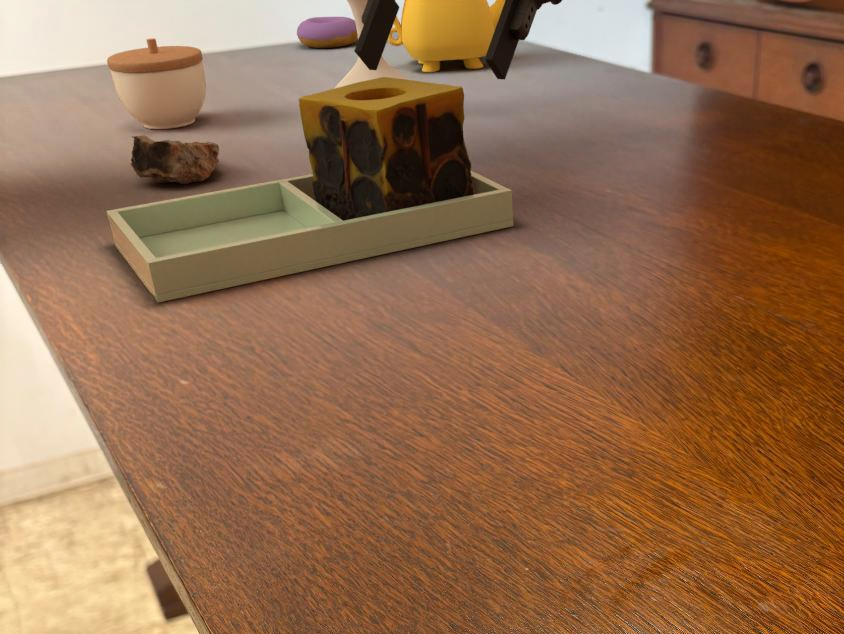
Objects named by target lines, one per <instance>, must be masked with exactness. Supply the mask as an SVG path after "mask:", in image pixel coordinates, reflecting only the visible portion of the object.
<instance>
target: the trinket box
mask: <svg viewBox="0 0 844 634" xmlns="http://www.w3.org/2000/svg"><path fill="white" fill-rule="evenodd" d="M146 44H147V47H143V48H142V47H141V48H135V49H130V50H124V51H121V52H117V53H114V54H112V55H109V56H108V57H107V60H106V63H107V67H108V69H109V70H110V74H111V79H112V83H113V85H114V88H115V92H116V94H117V96H118V98H119V100H120V102H121V104H122V105H123V107H124V109H125V110H126V111H127V112H128V113H129V115H131V116H132V117H133V118H134V119H135V120H136V121H138V122H139V123H141V124H142V126H143V127H144V128H145V129H148V130H149V129H150V130H169V129H176V128H177V129H178V128H182V127H187V126H189V125H191V124H194V123H195V122H196V117H197V116H198V115H199V113H200V112H201V110H202V107H203V106H204V103H205V99H206V90H207V89H206V88H207V85H206V74H205V68H204V62H203V59H204V58H203V54H202V53H203V52H202V50H201V49H200V48H198V47H195V46H194V47H193V46H187V45H164V46H163V45H161V46H158V44H157V39H156V38H154V37H153V38H147V39H146Z"/></svg>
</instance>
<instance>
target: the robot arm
mask: <svg viewBox="0 0 844 634" xmlns="http://www.w3.org/2000/svg"><path fill="white" fill-rule="evenodd" d="M396 1H397V0H368V1H367V4H366V8H365V9H364V12H363V15H362V23H363V24H364V26H363V29H362V31H361V34H360V37H359V39H357V42H356V45H355V48H354V53H355V54H356V56H357V57H358V56H359V58H360V59H361V60H362V61H363V62H364V64H365V65H366V66H367V67H368V69H369V70H377V67H378V64H379V62H380V59H381V56H382V57H383V53H384V50H385V48H386V45H387V42H388V37H389V34H390V32H391V29H392V28H393V26H394V21H395V18H396V16H397V15H398V13H399V10H400V6H399V4H398V3H397V2H396ZM562 1H563V0H505V3H504V6H503V9H502V12H501V14H500V17H499V20H498V23H497V26H496V28H495V31H494V34H493V37H492V40H491V43H490V45H489V48H488V51H487V54H486V55H485V56H484V61H485V63H486V64H487V65H488V67H489V68H490V70H491V72H492V73H493V75H494V77H496V79H497V80H504V81H505V80H506V79H507V76H508V73H509V70H510V67H511V64H512V60H513V58H514V56H515V52H516V50H517V47H518V44H519V42H520V41H525V40H526V39H527V37H528V36H529V34H530V31H531V28H532V25H533V22H534V20H535V17H536V14H537V11H538V10H540V9H541V8H542V6H543V5H545V4H548V3H551V4H552V5H554V6H556V5H557V6H558V5H559V4H561V3H562Z"/></svg>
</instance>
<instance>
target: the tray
mask: <svg viewBox="0 0 844 634" xmlns="http://www.w3.org/2000/svg"><path fill="white" fill-rule="evenodd" d="M470 178H471V180H472V184H471V187H472V188H473V194H474V195H470V196H465V197H460V198H455V199H450V200H445V201H440V202H435V203H430V204H425V205H420V206H415V207H410V208H405V209H400V210H395V211H390V212H385V213H380V214H375V215H370V216H365V217H360V218H355V219H350V220H345V221H343V220H342V219H340V218H339V217H337V216H336V215H335V214H333V213H332V212H330V211H329V210H327V209H326V208H325V207H323V206H322V205H320V204H319V203H318V202H316V200H315V195H314V192H313V185H312V182H313V174H312V173H310V174H304V175H300V176H293V177H288V178H283V179H277V180H271V181H266V182H260V183H253V184H249V185H244V186H238V187H232V188H227V189H222V190H221V189H220V190H216V191H209V192H204V193H198V194H193V195H187V196H182V197H181V196H180V197H177V198H171V199H165V200H160V201H154V202H149V203H143V204H137V205H132V206H131V205H130V206H125V207H119V208H114V209H110V210H106V216H107V219H108V224H109V227H110V230H111V234H112V238H113V242H114V246H115V248H116V249H117V250H118V252H119V253H120V255H121V256H122V257H123V259H124V260H125V261H126V262H127V264H128V265H129V266H130V268H131V269H132V270H133V272H134V273H135V275H136V276H137V277H138V279H140V281H141V282H142V283H143V285H144V287H146V289H147V290H148V291H149V293H150V294H151V295H152V297H153V298H154V299H155V301H156V302H157V303H158V304H159V303H163V302H168V301H173V300H178V299H182V298H187V297H192V296H196V295H200V294H206V293H210V292H214V291H218V290H219V291H220V290H223V289H228V288H233V287H238V286H242V285H247V284H251V283H256V282H260V281H265V280H270V279H274V278H280V277H284V276H288V275H289V276H290V275H294V274H298V273H302V272H307V271H311V270H316V269H317V270H318V269H320V268H326V267H330V266H335V265H340V264H344V263H349V262H354V261H358V260H359V261H360V260H363V259H368V258H374V257H376V256H381V255H386V254H390V253H396V252H400V251H404V250H405V251H406V250H410V249H413V248H414V249H415V248H419V247H423V246H428V245H432V244H439V243H443V242H447V241H451V240H456V239H460V238H461V239H462V238H465V237H469V236H475V235H479V234H484V233H489V232H492V231H497V230H503V229H507V228H512V227H514V207H513V190H512V189H510V188H508V187H506V186H504V185H501V184H500V183H498V182H495V181H493V180H492V179H490V178H488V177H485V176H484V175H481V174H479V173H477V172H476V171H473V170H471V176H470Z"/></svg>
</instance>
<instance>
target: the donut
mask: <svg viewBox="0 0 844 634" xmlns="http://www.w3.org/2000/svg"><path fill="white" fill-rule="evenodd" d="M296 36H297V38H298V40H299V41H300V43H301V44H302V45H303V46H305V47H308V48H315V49H331V48H332V49H333V48H340V47H345V46H349V45H352V44H354V43H355V42H356V41H358V34H357V28H356V24H355V19H353V18H351V17H347V16H315V17H309V18H307V19H305V20H303V21H301V22H300V23H299V24H298V25H297V29H296Z"/></svg>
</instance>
